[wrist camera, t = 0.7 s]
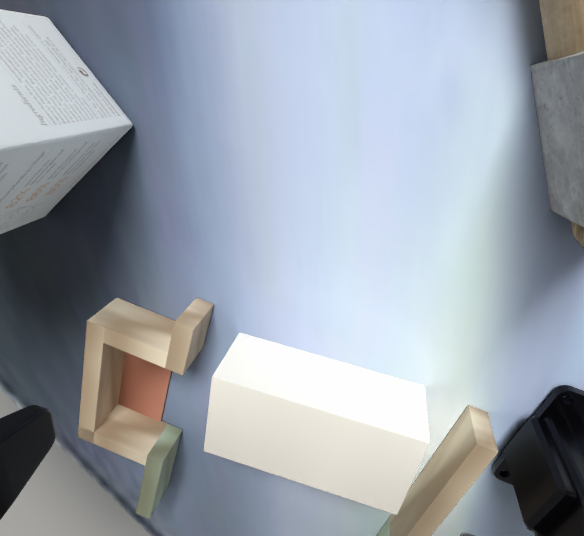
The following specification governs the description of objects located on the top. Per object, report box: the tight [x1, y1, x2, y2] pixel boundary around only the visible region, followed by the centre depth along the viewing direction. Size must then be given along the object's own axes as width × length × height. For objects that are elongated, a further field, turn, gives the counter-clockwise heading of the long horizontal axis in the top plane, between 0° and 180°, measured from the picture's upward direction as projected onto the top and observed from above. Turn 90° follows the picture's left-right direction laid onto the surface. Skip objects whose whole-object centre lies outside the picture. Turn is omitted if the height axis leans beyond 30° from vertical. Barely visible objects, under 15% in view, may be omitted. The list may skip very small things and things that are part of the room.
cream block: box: [204, 333, 430, 515], centre depth 21 cm, size 10×5×4 cm, turn 80°
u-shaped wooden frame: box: [78, 298, 498, 536], centre depth 24 cm, size 20×16×2 cm
